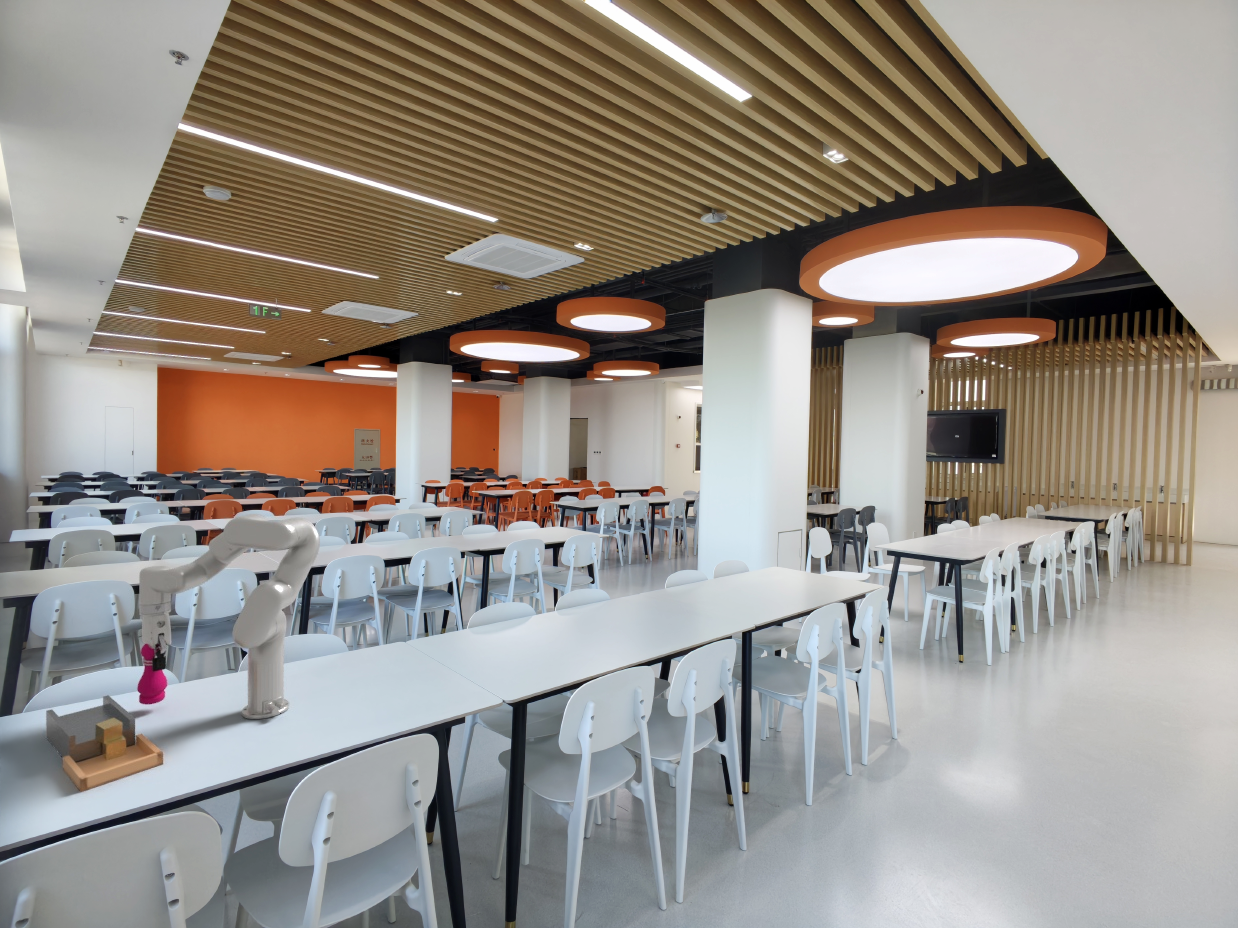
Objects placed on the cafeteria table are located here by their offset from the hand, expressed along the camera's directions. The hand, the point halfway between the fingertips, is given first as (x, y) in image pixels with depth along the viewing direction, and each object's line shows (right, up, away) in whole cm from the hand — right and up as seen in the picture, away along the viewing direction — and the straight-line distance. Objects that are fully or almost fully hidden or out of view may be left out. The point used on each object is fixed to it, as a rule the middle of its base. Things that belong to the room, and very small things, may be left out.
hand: (155, 666), depth 183 cm
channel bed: (-4, -14, -18) cm, 23 cm away
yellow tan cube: (+7, -10, -26) cm, 28 cm away
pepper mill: (-2, -10, +1) cm, 11 cm away
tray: (+13, -15, -30) cm, 36 cm away
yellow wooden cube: (+7, -12, -24) cm, 28 cm away
